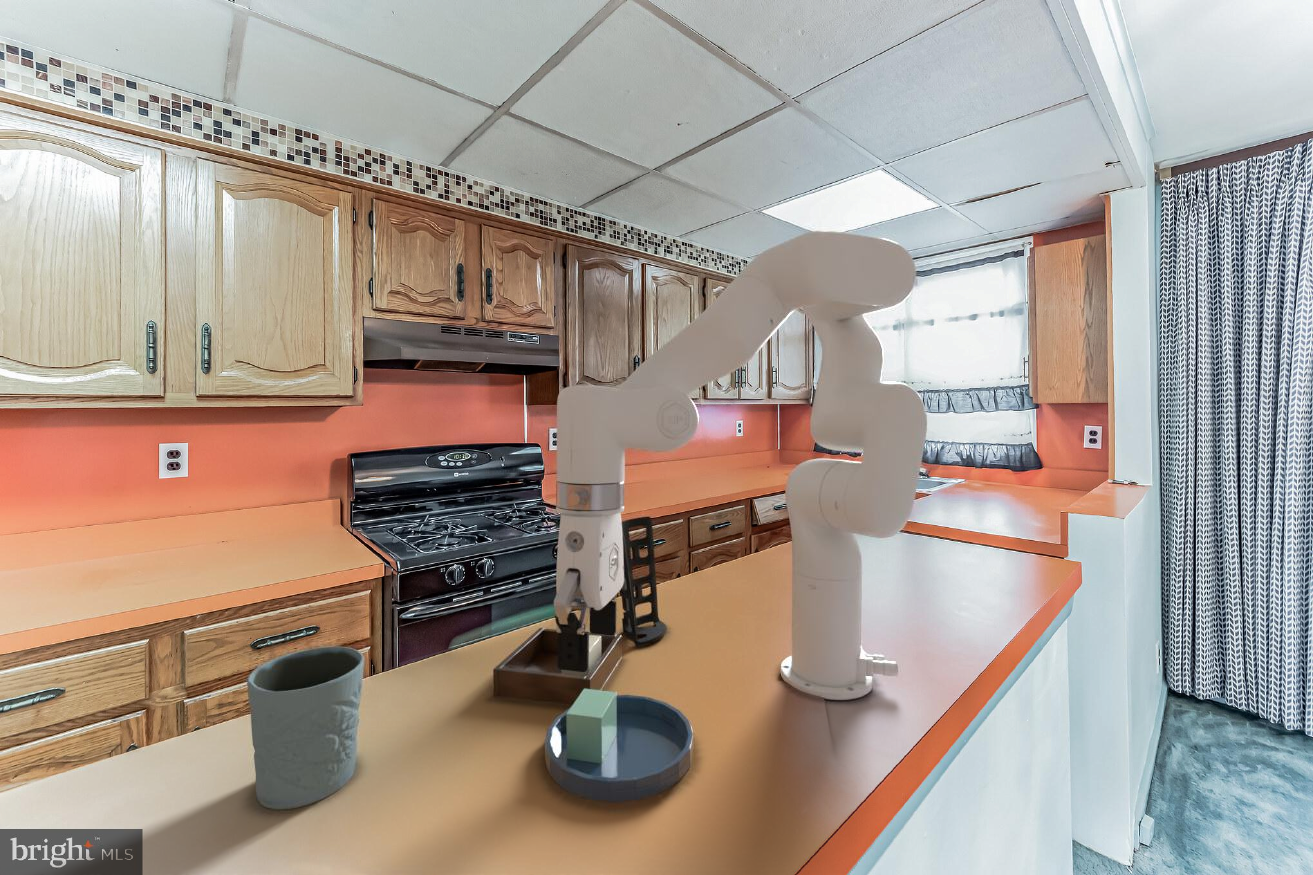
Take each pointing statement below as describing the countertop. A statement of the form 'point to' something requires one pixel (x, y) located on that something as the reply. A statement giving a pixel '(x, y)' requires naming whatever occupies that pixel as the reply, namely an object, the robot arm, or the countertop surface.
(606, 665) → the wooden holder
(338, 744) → the grey embossed cup
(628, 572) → the holder
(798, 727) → the countertop surface
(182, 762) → the countertop surface
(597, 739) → the green block
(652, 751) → the blue round tray
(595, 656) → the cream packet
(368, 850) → the countertop surface
